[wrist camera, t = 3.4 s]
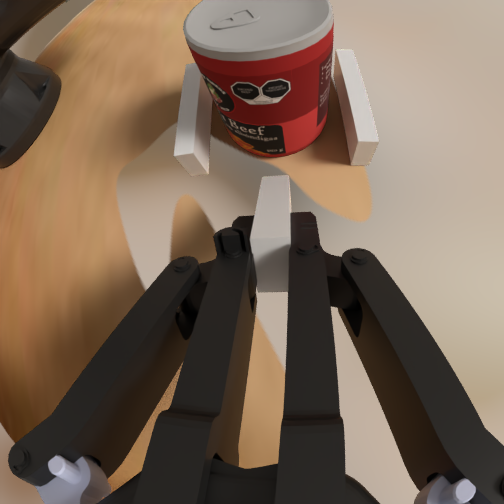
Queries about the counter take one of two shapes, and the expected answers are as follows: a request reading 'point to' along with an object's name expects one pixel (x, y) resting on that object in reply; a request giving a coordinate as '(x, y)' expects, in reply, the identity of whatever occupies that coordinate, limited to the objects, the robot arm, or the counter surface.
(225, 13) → the canned food
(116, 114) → the counter surface
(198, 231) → the counter surface
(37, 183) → the counter surface
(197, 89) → the channel
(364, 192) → the counter surface
